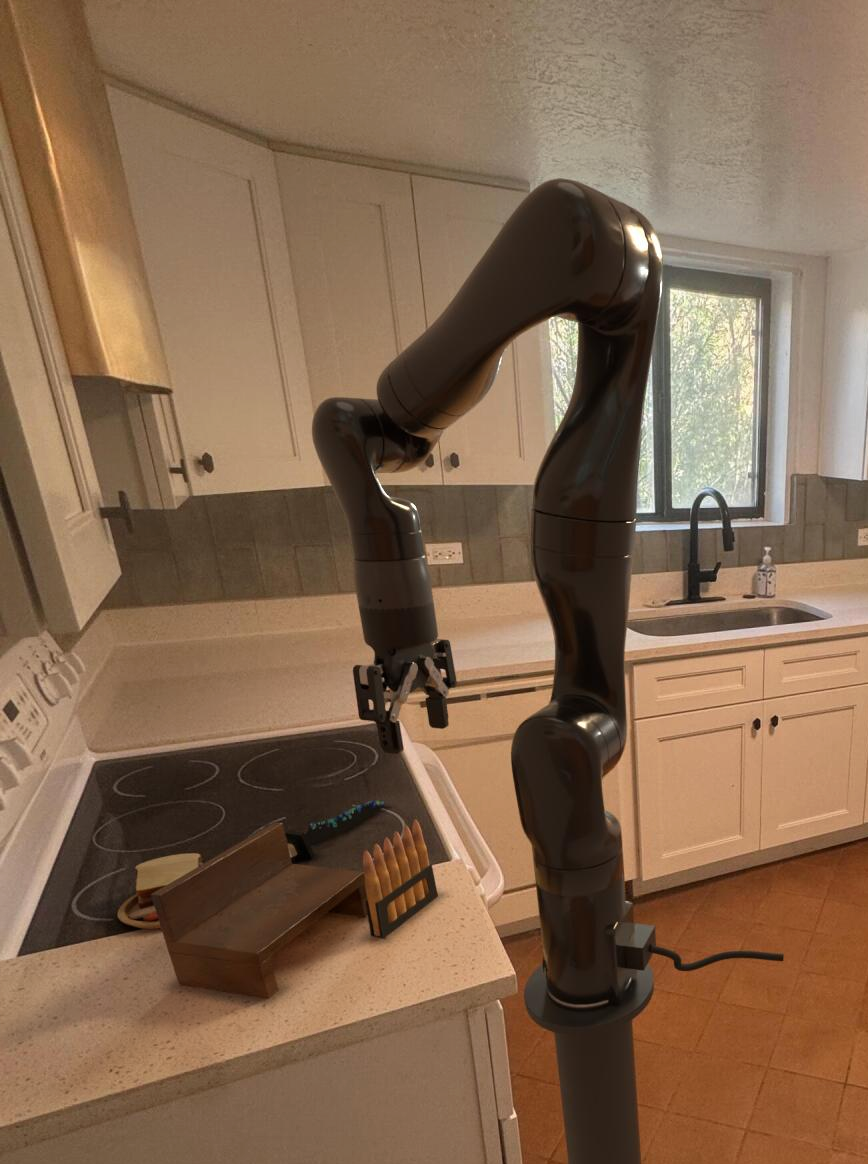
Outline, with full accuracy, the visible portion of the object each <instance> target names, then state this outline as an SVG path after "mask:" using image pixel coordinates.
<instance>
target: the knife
mask: <svg viewBox="0 0 868 1164" xmlns="http://www.w3.org/2000/svg"><path fill="white" fill-rule="evenodd" d="M386 804H387V802H386V801H385V800H381V799H380V800H379V799H375V800H369V801H366V802H363V803H361V804H358V805H356V806H354V807H352V808H351V809H348V810H347V811H345V812H343V813H341V814H339V815H336V816H335V817H332V818H330V819H326V820H324V821H318V822H309V823H308V829H307V831H306V833H304V832H301V831H294V830H288V831H285V836H286V840H287V844H288V849H289V853H290V857H291V859H292V858H294V857H296V858H302V859H309V860H312V858H314V856H315V854H314V852H313V849H312V847H314V846H317V845H319V844H321V843H323V842H327V841H328V840H330V839H332V838H334V837H337V836H339V835H340V834H342V833H344V832H346V831H348V830H350V829H352V828H354V827H357V825H360V824H361V823H363V822H364V821H366V820H368V819H370V818H371V817H372V816H374V815H376V814H377V813H378V812H379V811H381V810H382V809H383V808H384V807H385V806H386Z"/></svg>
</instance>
